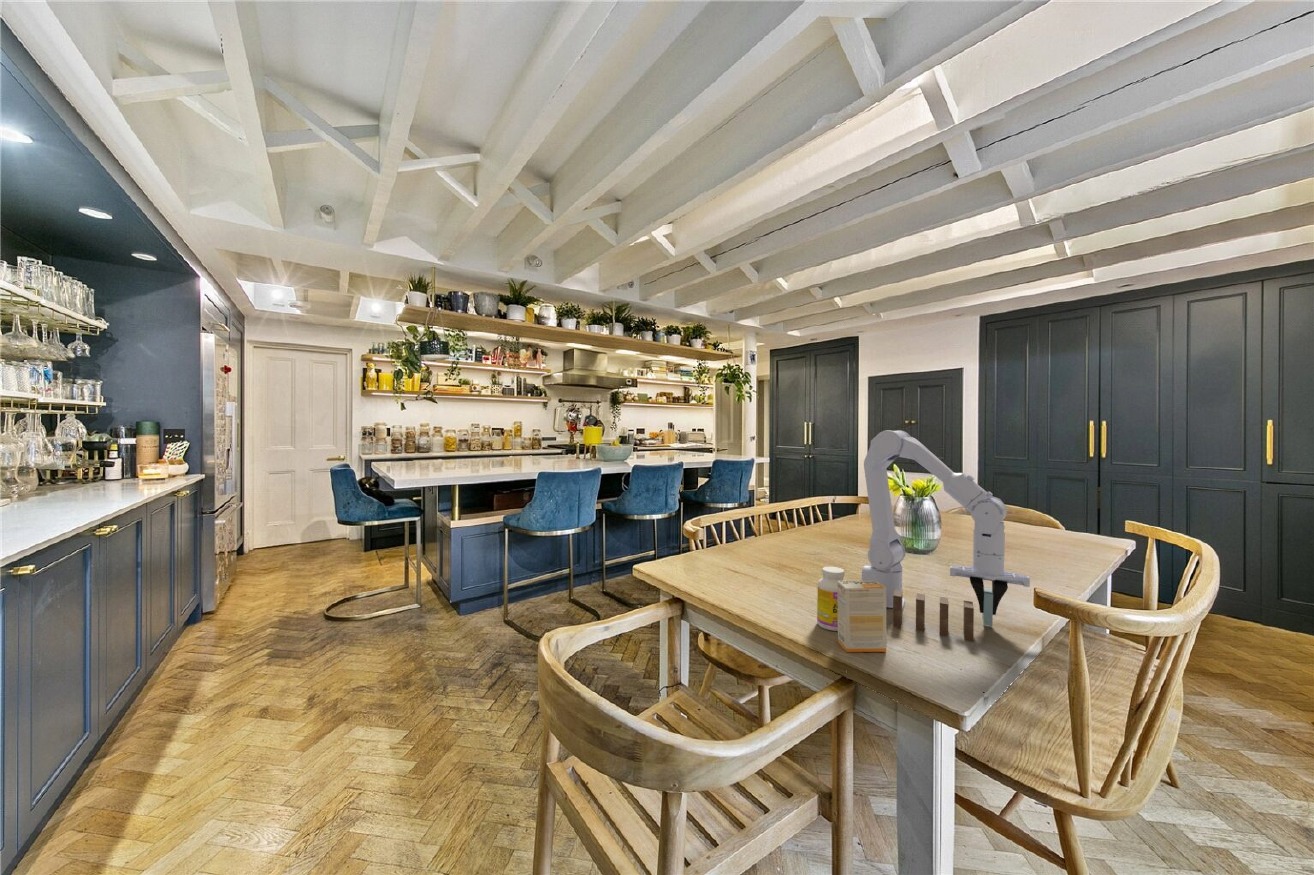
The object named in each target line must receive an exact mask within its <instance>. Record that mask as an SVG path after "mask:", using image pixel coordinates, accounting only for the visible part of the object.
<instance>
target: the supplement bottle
mask: <svg viewBox="0 0 1314 875" xmlns="http://www.w3.org/2000/svg"><path fill="white" fill-rule="evenodd" d="M821 571H822V572H821V573H822V574H821V575H822V578H820V579H819V580H818V581H817V593H816V594H817V596H816V597H817V602H816V604H817V606H816V612H817V613H816V614H817V615H816V621H817V624H818V626H819V627H821V629H825V630H827V631H833V632H838V585H837V581H845V579H844V577H845V570H844V569H843V568H841V567H837V566H824V567H822V570H821Z"/></svg>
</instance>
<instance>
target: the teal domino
mask: <svg viewBox="0 0 1314 875" xmlns="http://www.w3.org/2000/svg"><path fill="white" fill-rule="evenodd" d="M983 602H984V611H983V613H981V614H982V617H981V618H982V624H983V625H984V626H988V627H989V626H990V627H993V616H994V615H993V592H992V588H990V587H989V588H988V587H984V593H983Z"/></svg>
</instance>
